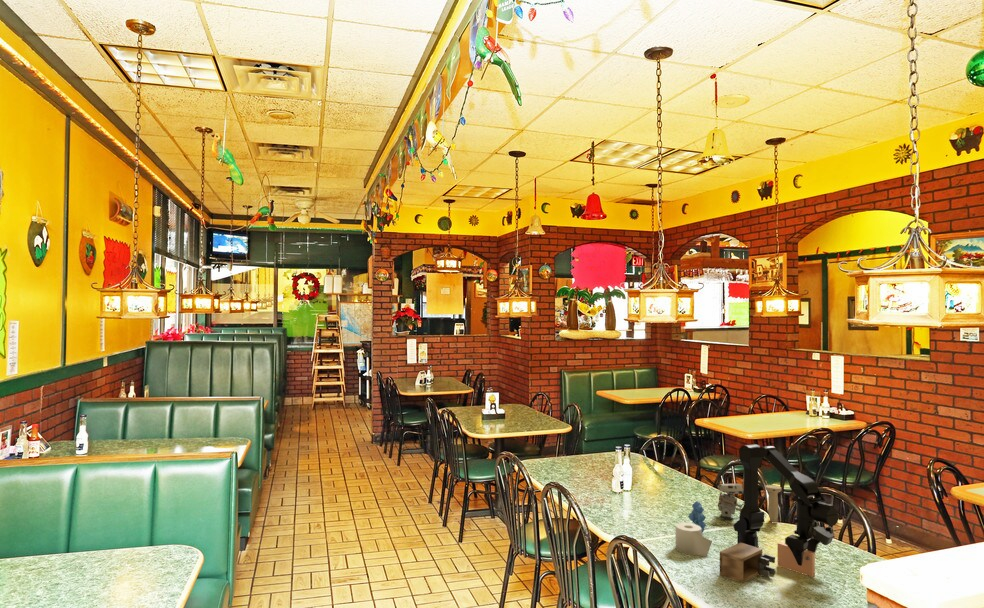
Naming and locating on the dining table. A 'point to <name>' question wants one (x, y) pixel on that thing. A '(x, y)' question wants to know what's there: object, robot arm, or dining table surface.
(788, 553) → the cabinet door
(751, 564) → the cabinet
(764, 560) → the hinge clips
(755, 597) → the dining table surface
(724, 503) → the figurine
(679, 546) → the toilet tissue
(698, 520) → the grapes
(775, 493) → the handle
